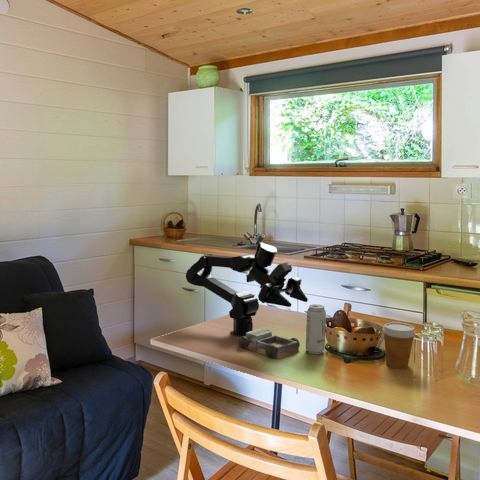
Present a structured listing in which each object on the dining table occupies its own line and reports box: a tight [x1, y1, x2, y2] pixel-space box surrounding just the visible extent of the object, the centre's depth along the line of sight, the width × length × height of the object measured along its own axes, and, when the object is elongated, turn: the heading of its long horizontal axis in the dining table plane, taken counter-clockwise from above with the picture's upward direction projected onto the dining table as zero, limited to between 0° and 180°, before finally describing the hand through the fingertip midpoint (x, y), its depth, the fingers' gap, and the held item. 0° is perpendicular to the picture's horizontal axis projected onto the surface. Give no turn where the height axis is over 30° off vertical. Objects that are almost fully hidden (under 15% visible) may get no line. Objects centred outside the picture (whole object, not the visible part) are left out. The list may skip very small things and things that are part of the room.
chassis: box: [237, 328, 301, 360], centre depth 174 cm, size 17×12×4 cm
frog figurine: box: [376, 332, 385, 349], centre depth 176 cm, size 6×7×7 cm
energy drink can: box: [305, 304, 327, 355], centre depth 171 cm, size 6×6×15 cm
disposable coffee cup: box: [382, 322, 416, 370], centre depth 161 cm, size 10×10×12 cm
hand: (299, 303), depth 172 cm, fingers open, 9 cm apart
